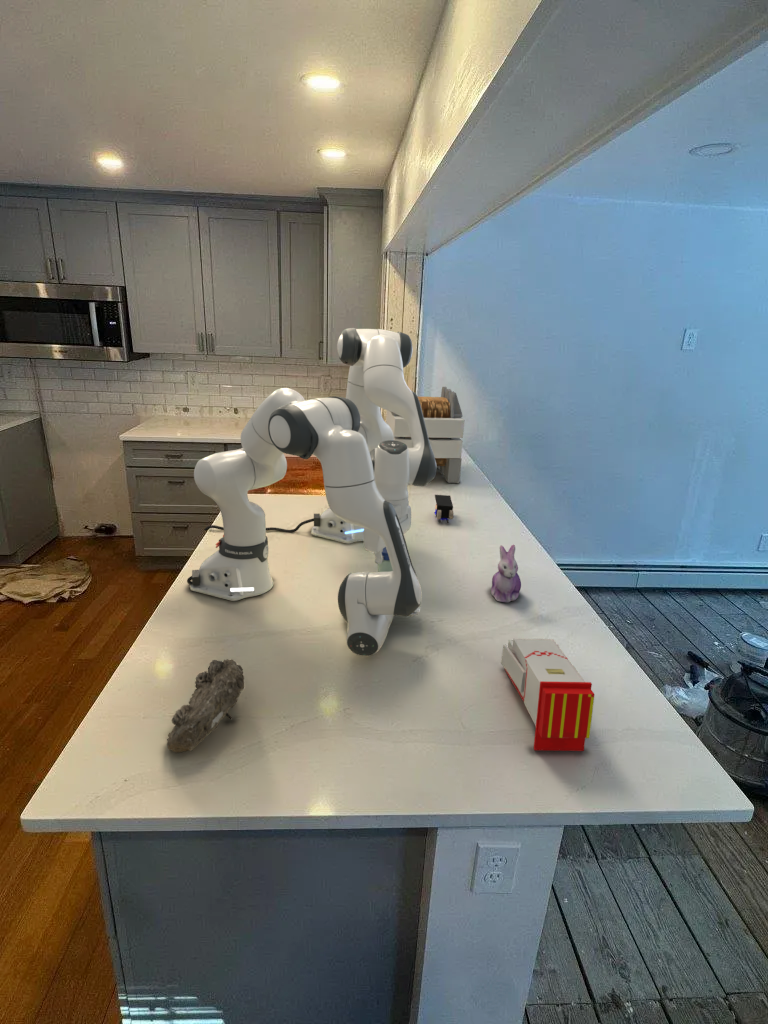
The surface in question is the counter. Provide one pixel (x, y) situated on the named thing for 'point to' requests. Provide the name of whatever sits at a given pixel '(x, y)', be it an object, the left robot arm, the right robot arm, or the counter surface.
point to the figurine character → (443, 508)
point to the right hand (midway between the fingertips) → (387, 556)
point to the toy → (550, 693)
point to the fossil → (206, 705)
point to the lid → (385, 554)
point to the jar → (385, 566)
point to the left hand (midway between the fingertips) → (386, 585)
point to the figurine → (506, 577)
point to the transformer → (437, 431)
